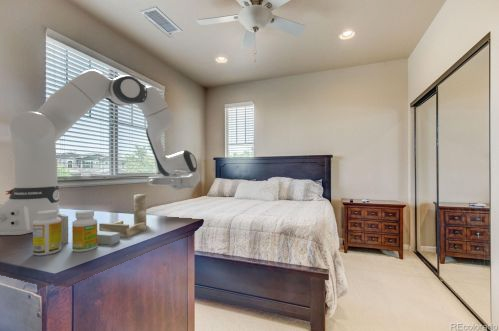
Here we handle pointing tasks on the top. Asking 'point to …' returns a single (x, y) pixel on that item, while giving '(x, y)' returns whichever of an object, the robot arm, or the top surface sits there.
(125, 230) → the cradle
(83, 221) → the supplement bottle
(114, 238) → the wall
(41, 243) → the supplement bottle
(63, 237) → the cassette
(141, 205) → the dowel
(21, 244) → the top surface
